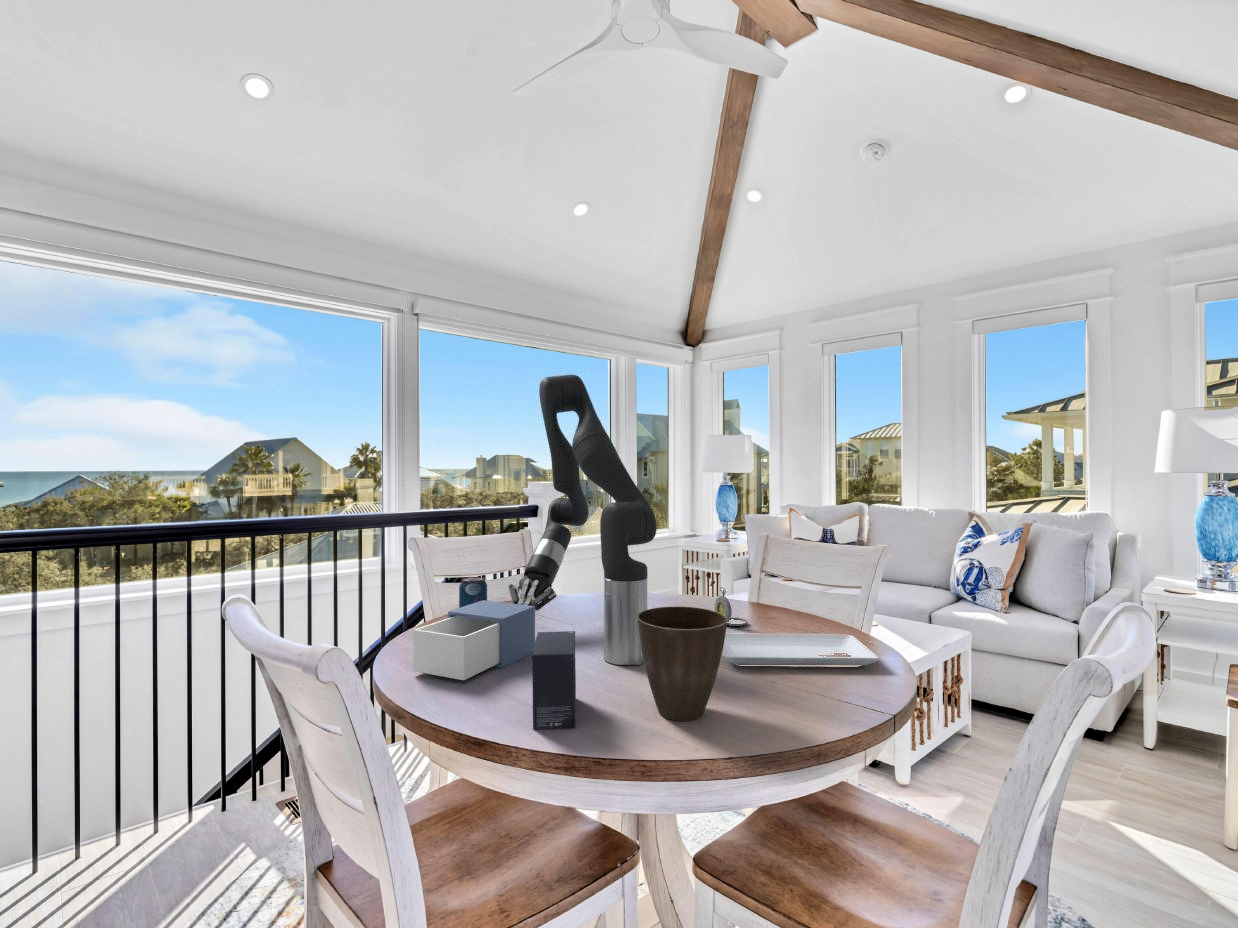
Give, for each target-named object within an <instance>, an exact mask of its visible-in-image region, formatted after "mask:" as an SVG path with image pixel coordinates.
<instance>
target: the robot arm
mask: <svg viewBox="0 0 1238 928" xmlns="http://www.w3.org/2000/svg"><path fill="white" fill-rule="evenodd" d="M538 391H539V392H538V393H539V403H540V407H541V408H540V409H541V413H542V419H543V422H544V423H543V424H544V428H545V434H546V437H547V438H546V439H547V442H548V446H549V447H548V448H549V452H550V460H551V471H552V485H553V488H554V490H555V491H557V492H558V493H561V494H564V495H566V496H567V498H566V497H557V498H555V499H553V500H552V501H551V502H550V504H549V505H548V511H547V518H546V524H545V528H544V531H543V534H542V535H541V538H540V540H539V542H538V543H537V545H536V546H535V547H534V551H533V552H532V554H531V556H530V558H529V560H528V563H527V565H526V567H525V569H524V573H523V576H522V578H520V580H519V582H518V583H516V584H513V583H510V584H508V589H509V590H508V591H509V593H510V597H511V603H512V604H519V605H528V606H535V612H536V611H539V610H541V609H542V608H544V606H547V604H549V603H550V602H551V601H553V600H554V599H556V597H557V594H556V593H557V592H555V590H554V588H552V587H553V585H552V584H553V583H554V582H555V579H556V577H557V574H558V572H559V570H560V569H561V565H562V563H563V560H564V557H565V554H566V551H567V549H568V548H569V544H570V542H571V540H572V532H571V530H570V529H569V528H568V527H567V526H571V527H573V526H574V527H581V526H583V525H584V524H585V523H587V520H588V518H589V505H588V503H587V499H586V497H585V494H584V491H583V487H582V485H581V477H580V470H581V471H582V473H583V474H584V476H586V478H588V480H590V481H591V482H592V483H594V484H595V485H596V486H598V487H599V488H600V489H601V490H603V491H604V492H606V494H608V495H609V496H611V498H612V499H613V500H614V501H615V502H614V501H613V502H610V503H607V504H606V505H605V506H604V507H603V509H602V511H601V513H600V519H599V520H600V523H599V530H600V531H599V532H600V533H599V534H600V549H601V550H600V551H601V552H600V553H601V563H602V567H603V568H602V569H603V660H604V661H606V662H607V663H610V664H612V665H613V664H614V665H617V666H618V665H619V666H633V665H634V666H635V665H636V666H641V665H642V664H644V660H643V654H642V649H641V643H640V636H639V628H638V620H637V615H638V614H639V613H640V612H642V611H645V610H648V566H647V564H646V563H644V562H643V561H639V560H637V559H634V558H632V557H631V556H630V554H629V546H638V545H643V544H648V543H650V542H652V541H653V540H654V538H656V537H655V536H656V535H657V530H658V528H657V527H658V526H657V520H656V519H657V518H656V515H655V513H654V511H653V509H652V507H651V505H650V503H649V501H648V500H647V499H646V498H645V496H644V495H643V493H642V492H641V491H640V489H639V487H638V486H637V485H636V483H635V482H634V480H633V478H632V476H631V475H630V474H629V472H628V470H627V469H626V466H625V465H624V463H623V461H622V459H621V457H620V455H619V454H618V452H617V450H616V446H614V443H613V441H612V440H611V438H610V436H609V435H608V433H607V432H606V431H607V430H605V428H604V426H603V424H602V422H601V420H600V418H599V416H598V414H597V412H596V410H595V408H594V405H593V403H592V402H593V401H592V400H591V397H590V394H589V392H588V390H587V387H586V385H585V383H584V382H583V379H581V377H580V376H578V375H577V374H563V375H562V374H561V375H553V376H551V375H550V376H545V377H543V378H542V379H541V381H540V382H539V390H538ZM565 412H574V413H576V415H577V417H578V422H577V426H576V429H575V432H574V435H573V438H572V443H570V442H569V440H568V439H567V438H566V436H565V434H564V433H563V431H562V429H561V427H560V424H559V420H558V414H559V413H565ZM564 525H565V526H564Z"/></svg>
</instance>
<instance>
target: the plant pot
mask: <svg viewBox="0 0 1238 928" xmlns="http://www.w3.org/2000/svg"><path fill="white" fill-rule="evenodd" d="M724 615H725V614H721V613H718V612H715V610H711V609H707V608H701V607H693V606H675V605H674V606H661V607H653V608H649V609H648V608H647V610H645V611H642V612H640V613H639V614H638V615H637V620H638V628H639V636H640V643H641V649H642V654H643V660H644V663H643V665H644V668H645V673H646V677H647V681H648V684H649V686H650V690H651V694H652V697H653V700H654V702H655V705H656V706H655V707H656V708H657V710H658V713H659V714H660V716H661V717H663V718H666V719H669V720H671V721H672V720H673V721H677V722H689V721H695V719H696V720H698V719H700V718H702V716H703V715H704V712H705V709H706V708H707V705H708V702H709V700H710V697H711V694H712V691H713V688H714V685H715V683H716V679H717V674H718V671H719V668H720V665H721V664H720V663H721V659H722V657H723V655H722V651H723V646H724V640H725V634H726V633H727V628H728V627H727V617H726V616H724Z"/></svg>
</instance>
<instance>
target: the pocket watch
mask: <svg viewBox="0 0 1238 928" xmlns="http://www.w3.org/2000/svg"><path fill="white" fill-rule="evenodd" d="M722 589H723V590H722ZM719 591H720V592H721V594H722V595H720V596H718V597H717V598H716V599H715V602H714V611H715V612H718V613H721V614H723V615H724V616H726V617H727V622H729V620H731V619H734V620H741V621H745V622H746V623H743V624H731V623H727V625H729V627H732V626H740V627H744V626H743V625H745V626H747V625H748V624H749V622H748V620H747V619H745V618H741V617H732V614H733V613H732V607H731V606H732V605H731V603H730V601H729V599H728V597H726V596H725V594H726V592H727V591H726V588H724V587H723V586H720V587H719ZM746 624H747V625H746Z"/></svg>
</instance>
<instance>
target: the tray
mask: <svg viewBox="0 0 1238 928" xmlns="http://www.w3.org/2000/svg"><path fill="white" fill-rule="evenodd" d="M836 650H837V651H836ZM831 653H832V654H831ZM834 653H847V654H848V655H851V657H826V656H824V657H823V656H818V655H834ZM842 655H843V654H842ZM844 655H846V654H844ZM722 657H723V659H725V660H726V661H728V662H729V663H731V664H733V665H735V664H737V665H864V666H868V665H872V664H874V663H876V662H879V661H880V656H878V655H877V654H876V653H874V651H872V650H871V649H870V648H868V647H867V646H866V645H865V644H864V643H862V642H861V641H860V640H859V639H858V638H857V637H855V636H854V635H851V634H845V633H843V634H842V633H758V632H757V633H754V632H753V633H750V632H749V633H748V632H747V633H746V632H745V633H738V632H737V633H735V632H734V633H731V632H726V634H725V640H724V646H723V651H722Z"/></svg>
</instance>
